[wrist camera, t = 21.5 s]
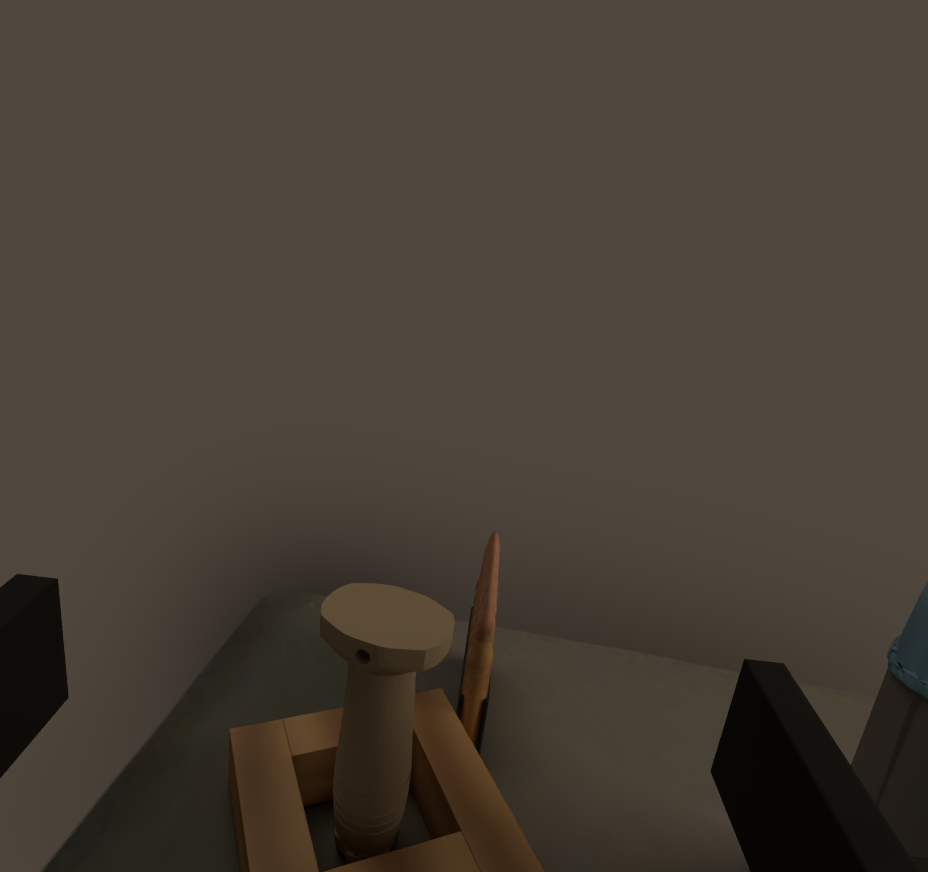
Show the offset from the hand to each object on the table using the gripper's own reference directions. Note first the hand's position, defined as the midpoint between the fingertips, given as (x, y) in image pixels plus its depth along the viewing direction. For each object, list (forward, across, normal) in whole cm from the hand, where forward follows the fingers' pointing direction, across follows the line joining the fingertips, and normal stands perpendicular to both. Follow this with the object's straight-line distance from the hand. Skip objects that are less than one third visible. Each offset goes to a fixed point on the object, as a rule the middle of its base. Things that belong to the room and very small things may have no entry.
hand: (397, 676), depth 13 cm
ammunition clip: (+29, +4, -25) cm, 39 cm away
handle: (+17, -2, -25) cm, 30 cm away
